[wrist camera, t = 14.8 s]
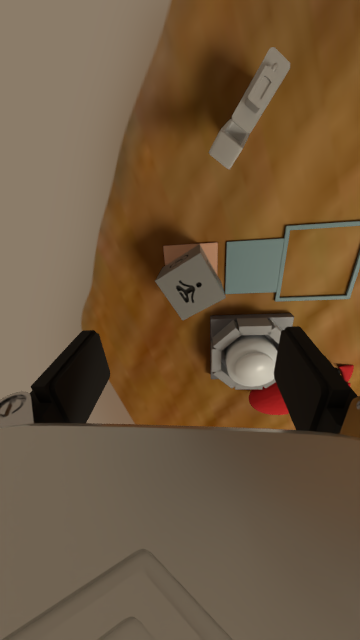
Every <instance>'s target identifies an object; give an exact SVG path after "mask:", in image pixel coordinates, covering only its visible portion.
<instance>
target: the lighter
mask: <svg viewBox="0 0 360 640" xmlns="http://www.w3.org/2000/svg"><path fill="white" fill-rule="evenodd" d="M289 69H290V62H289V61H288V60H287V59H286V58H285V57H284V56H283V55H282V54H281V53H280V52H279V51H278V50H277V49H276V48H275V47H272V48H270V49H269V51H268V53H267V54H266V56H265V58H264V60H263V62H262V63H261V65H260V67H259V69H258V71H257V72H256V74H255V76H254V78H253V79H252V81H251V83H250V85H249V87H248V88H247V90H246V92H245V94H244V96H243V97H242V99H241V101H240V103H239V104H238V106H237V108H236V110H235V112H234V113H233V115H232V117H231V119H230V120H229V121H228V122H227V123H226V124H225V125H224V126H223V127H222V128H221V130H220V132H219V133H218V135H217V137H216V139H215V141H214V143H213V145H212V147H211V149H210V151H209V154H210V155H211V156H212V157H213V158H215V159H216V160H217V161H218V162H220V163H221V164H222V165H223V166H225V167H226V168H227V169H230V168H231V166H232V165H233V163H234V162H235V160H236V159H237V157H238V155H239V154H240V152H241V151H242V149H243V147H244V145H245V143H246V141H247V139H248V137H249V134H250V133H251V131H252V130H253V128H254V126H255V125H256V123H257V121H258V120H259V118H260V117H261V115H262V113H263V112H264V110H265V108H266V107H267V105H268V103H269V102H270V100H271V99H272V97H273V95H274V94H275V92H276V90H277V89H278V87H279V85H280V84H281V82H282V81H283V79H284V77H285V76H286V74H287V72H288V71H289Z"/></svg>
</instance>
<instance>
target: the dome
mask: <svg viewBox="0 0 360 640" xmlns="http://www.w3.org/2000/svg"><path fill="white" fill-rule="evenodd" d="M276 357H277V350H276V348H275V346H274V345H273V343H272V341H271V340H270V339H269V338H268V337H266V336H265V335H241V336H240V337H238V338H237V339H236V340H234V341H233V342H232V343H231V344H229V345H228V346H227V347H226V349H225V360H226V365H227V371H228V374H229V376H230V377H231V379H232V380H233V381H235V382H236V383H238V384H240V385H243V386H250V387H254V386H261V385H264V384H266V383H269V382H270V381H272V380H273V379H274V368H275V363H276Z"/></svg>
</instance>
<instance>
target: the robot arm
mask: <svg viewBox="0 0 360 640" xmlns="http://www.w3.org/2000/svg"><path fill="white" fill-rule="evenodd" d="M109 377H110V370H109V367H108V363H107V360H106V357H105V353H104V350H103V347H102V343H101V340H100V336H99V334H98V333H96V332H95V331H94V330H90V331H82V332H81V333H80V334H79V335H78V336H77V337H76V338H75V339H74V340H73V341H72V342H71V343H70V345H69V346H68V347H67V348H66V349H65V350H64V351H63V352H62V353H61V354H60V355H59V356H58V358H57V359H56V360H55V361H54V362H53V363H52V364H51V365H50V366H49V367H48V368H47V370H45V372H44V373H43V374H42V375H41V376H40V377H39V378H38V379H37V380H36V381H35V382H34V383H33V385H32V386H31V388H32V392H31V393H30V394H29V393H28V392H16V393H13V394H10V395H8V396H6V397H4V398H2V399H1V400H0V640H360V396H357V395H356V394H355V392H354V391H353V390H352V389H351V388H350V386H349V385H348V384H347V383H346V381H345V380H344V379H343V378H342V377H341V375H340V374H339V373H338V372H337V370H336V369H335V368H334V367H333V366H332V364H331V363H330V362H329V361H328V359H327V358H326V357H325V356H324V355H323V354H322V353H321V352H320V351H319V349H318V348H317V347H316V346H315V344H314V343H313V342H312V341H311V340H310V338H309V337H308V336H307V335H306V333H305V332H304V331H303V330H302V328H301V327H286V328H285V330H282V331H281V335H280V340H279V346H278V352H277V357H276V363H275V368H274V379H275V381H276V384H277V386H278V388H279V391H280V393H281V395H282V398H283V400H284V402H285V405H286V407H287V409H288V412H289V414H290V416H291V419H292V421H293V423H294V426H295V428H296V430H282V429H260V428H231V427H203V426H169V425H134V424H89V423H86V422H87V420H88V418H89V416H90V414H91V412H92V410H93V408H94V407H95V405H96V403H97V401H98V399H99V397H100V395H101V393H102V391H103V389H104V387H105V385H106V383H107V382H108V380H109Z"/></svg>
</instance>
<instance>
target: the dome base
mask: <svg viewBox="0 0 360 640" xmlns="http://www.w3.org/2000/svg"><path fill="white" fill-rule="evenodd" d="M293 320H294V316H293V315H292V314H291V313H283V314H250V315H216V316H210V341H211V379H220V380H221V381H223V382H224V383H225V384H227V385H228V386H229V387H231V388H233V387H235V389H262V388H263V387H264V388H267V387H269V386H270V385H272V384H274V383H275V382H276V381H275V379H273V380H272V381H270V382H269V383H266V384H264V385H261V386H254V387H250V386H243V385H240V384H238V383H236V382H235V381H233V380H232V379H231V377H230V376H229V374H228V371H227V365H226V360H225V349H226V347H227V346H228V345H229V344H231V343H232V342H233V341H234V340H236V339H237V338H238V337H240V336H241V335H265V336H266V337H268V338H269V339H270V340H271V341H272V343H273V345H274V346H275V348H276V350H277V352H278V346H279V340H280V335H281V331H282V330H285V328H286V327H292V325H293Z"/></svg>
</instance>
